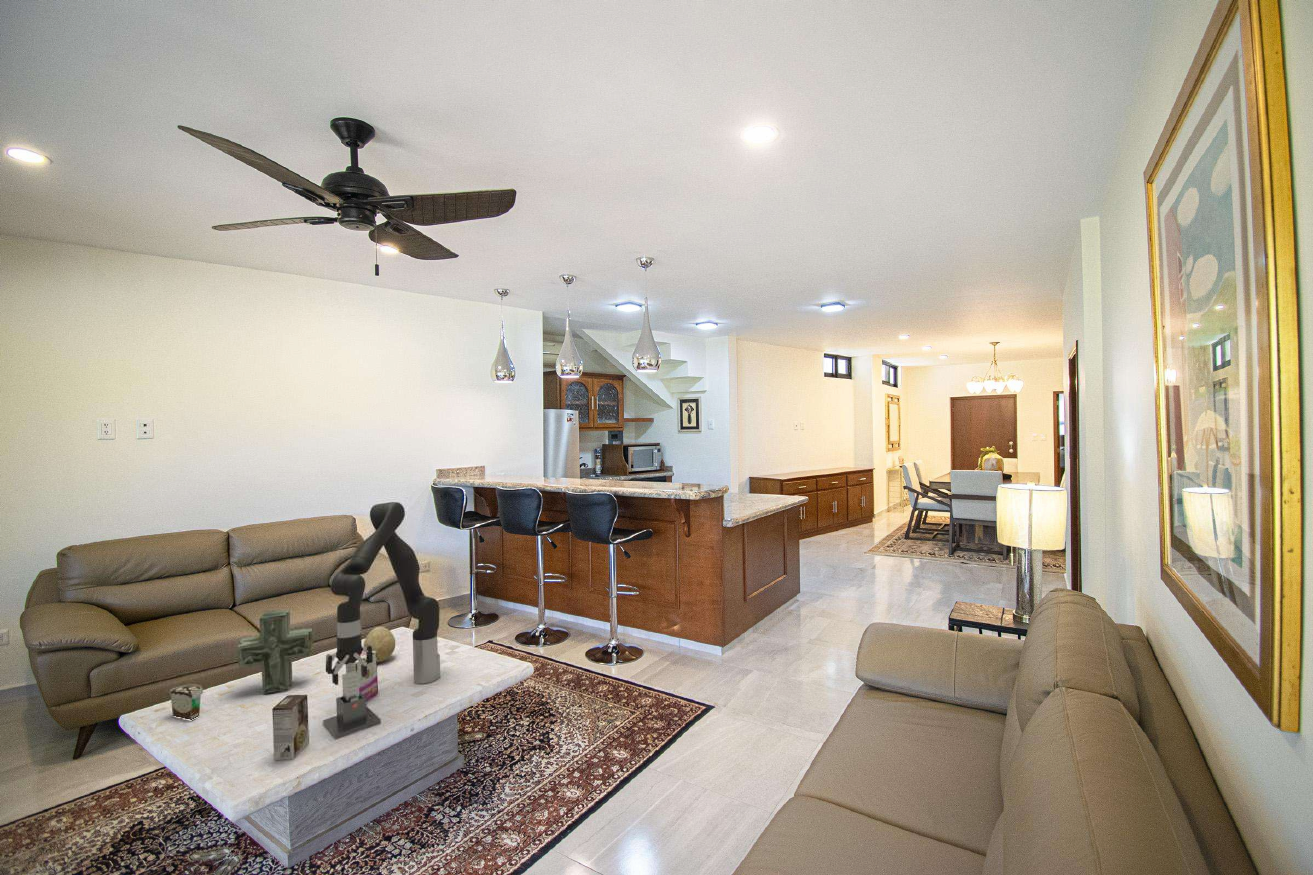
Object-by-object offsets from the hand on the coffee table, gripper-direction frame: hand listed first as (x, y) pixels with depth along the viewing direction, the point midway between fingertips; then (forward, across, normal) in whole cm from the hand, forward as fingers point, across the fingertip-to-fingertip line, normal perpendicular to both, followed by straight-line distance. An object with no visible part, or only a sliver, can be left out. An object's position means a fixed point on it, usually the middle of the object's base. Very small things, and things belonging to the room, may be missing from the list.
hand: (349, 680), depth 200 cm
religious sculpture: (+15, +11, -52) cm, 55 cm away
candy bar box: (+15, -9, -17) cm, 25 cm away
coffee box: (+15, +19, +5) cm, 25 cm away
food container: (+15, +38, -50) cm, 64 cm away
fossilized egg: (+15, -27, -51) cm, 60 cm away
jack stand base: (+15, 0, 0) cm, 15 cm away
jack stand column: (+14, 0, 0) cm, 14 cm away
